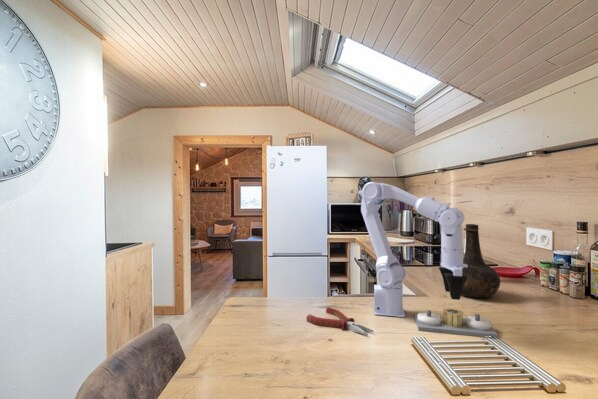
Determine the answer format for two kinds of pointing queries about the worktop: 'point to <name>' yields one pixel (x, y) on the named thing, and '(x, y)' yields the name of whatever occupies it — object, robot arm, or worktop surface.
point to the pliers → (338, 322)
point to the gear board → (471, 327)
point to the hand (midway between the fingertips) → (452, 295)
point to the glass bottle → (477, 268)
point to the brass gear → (453, 317)
